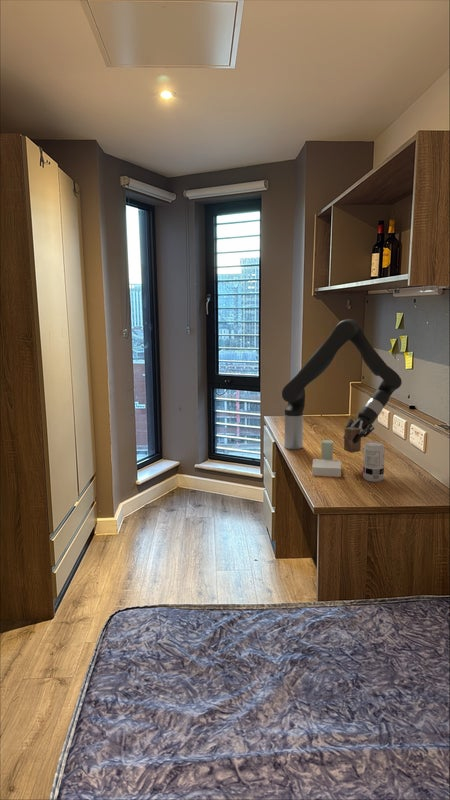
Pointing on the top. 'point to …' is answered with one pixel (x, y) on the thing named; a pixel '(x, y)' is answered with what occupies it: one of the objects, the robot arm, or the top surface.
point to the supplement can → (373, 461)
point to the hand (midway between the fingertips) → (349, 440)
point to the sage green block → (327, 450)
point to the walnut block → (348, 438)
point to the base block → (326, 467)
